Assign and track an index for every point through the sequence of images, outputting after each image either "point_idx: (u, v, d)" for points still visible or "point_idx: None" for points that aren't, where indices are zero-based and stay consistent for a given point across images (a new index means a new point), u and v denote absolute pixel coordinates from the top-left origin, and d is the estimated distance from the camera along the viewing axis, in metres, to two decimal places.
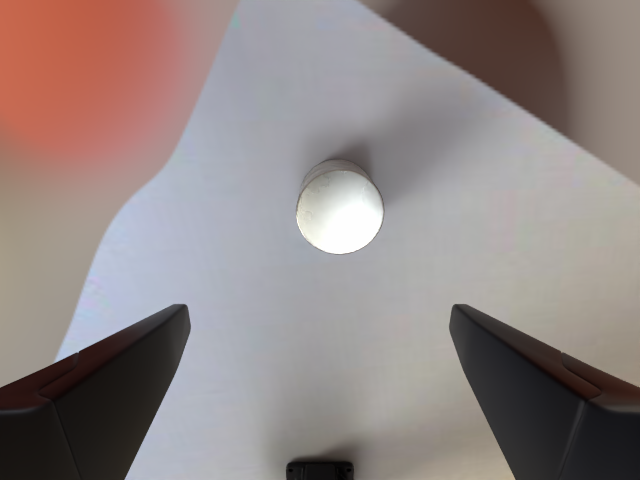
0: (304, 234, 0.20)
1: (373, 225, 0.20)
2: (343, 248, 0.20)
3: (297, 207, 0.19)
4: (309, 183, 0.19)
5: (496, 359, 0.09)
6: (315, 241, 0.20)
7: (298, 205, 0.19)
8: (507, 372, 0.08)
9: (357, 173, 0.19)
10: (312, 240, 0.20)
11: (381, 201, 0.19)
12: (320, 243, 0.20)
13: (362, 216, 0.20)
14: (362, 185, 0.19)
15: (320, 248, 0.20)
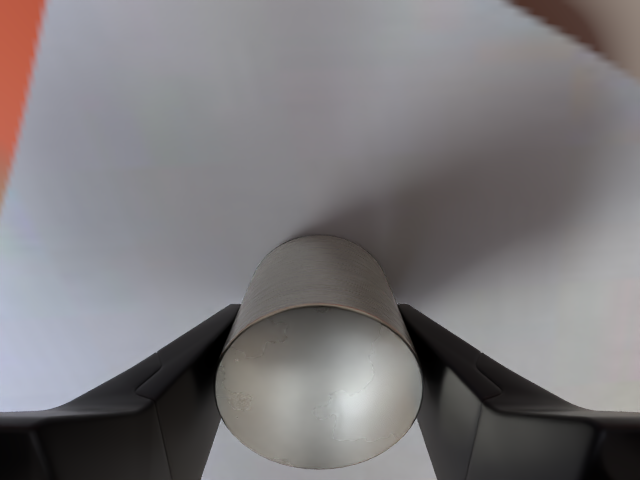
0: (239, 437, 0.09)
1: (398, 415, 0.08)
2: (331, 459, 0.09)
3: (215, 386, 0.08)
4: (237, 336, 0.08)
5: (422, 359, 0.09)
6: (265, 449, 0.09)
7: (217, 382, 0.08)
8: (430, 372, 0.08)
9: (356, 310, 0.07)
10: (259, 447, 0.09)
11: (418, 368, 0.08)
12: (277, 452, 0.09)
13: (371, 400, 0.08)
14: (369, 337, 0.08)
15: (278, 461, 0.09)
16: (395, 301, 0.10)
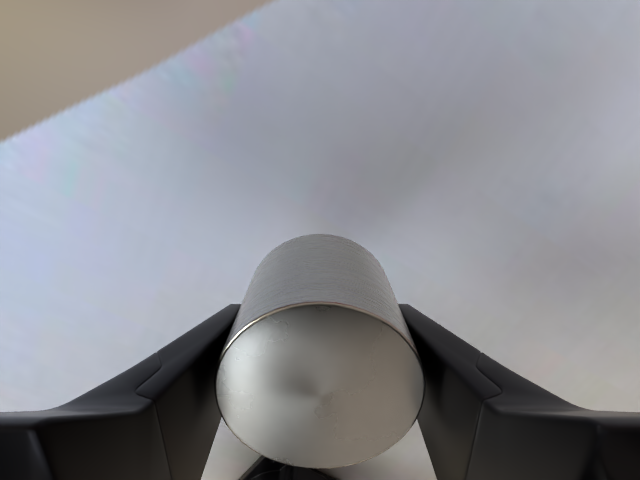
0: (239, 436, 0.09)
1: (399, 414, 0.08)
2: (332, 458, 0.09)
3: (215, 385, 0.08)
4: (238, 335, 0.08)
5: (422, 359, 0.09)
6: (266, 447, 0.09)
7: (217, 381, 0.08)
8: (430, 372, 0.08)
9: (357, 309, 0.07)
10: (260, 447, 0.09)
11: (419, 367, 0.08)
12: (277, 451, 0.09)
13: (372, 399, 0.08)
14: (371, 336, 0.08)
15: (279, 460, 0.09)
16: (396, 300, 0.10)
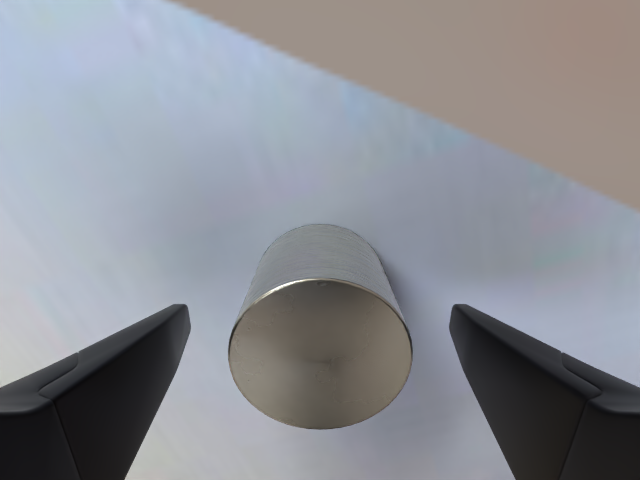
0: (250, 399, 0.10)
1: (390, 379, 0.09)
2: (331, 420, 0.10)
3: (229, 352, 0.09)
4: (250, 307, 0.09)
5: (496, 359, 0.09)
6: (273, 410, 0.10)
7: (231, 349, 0.09)
8: (507, 372, 0.08)
9: (353, 284, 0.09)
10: (267, 409, 0.10)
11: (406, 336, 0.09)
12: (283, 413, 0.10)
13: (366, 365, 0.09)
14: (365, 308, 0.09)
15: (284, 421, 0.10)
16: None
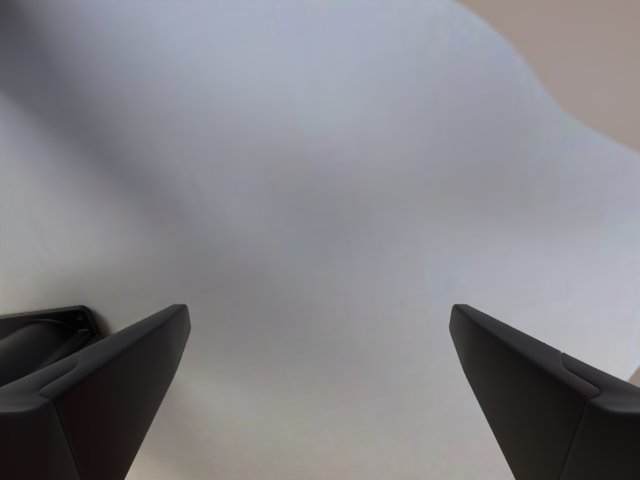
0: None
1: None
2: None
3: None
4: None
5: (496, 359, 0.09)
6: None
7: None
8: (507, 372, 0.08)
9: None
10: None
11: None
12: None
13: None
14: None
15: None
16: None
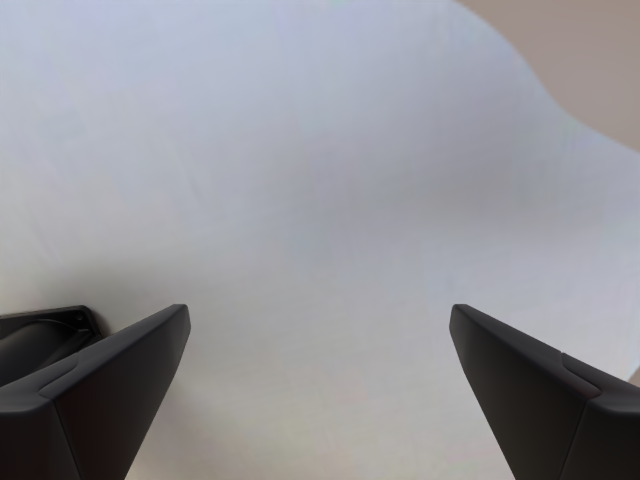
0: None
1: None
2: None
3: None
4: None
5: (496, 359, 0.09)
6: None
7: None
8: (507, 372, 0.08)
9: None
10: None
11: None
12: None
13: None
14: None
15: None
16: None
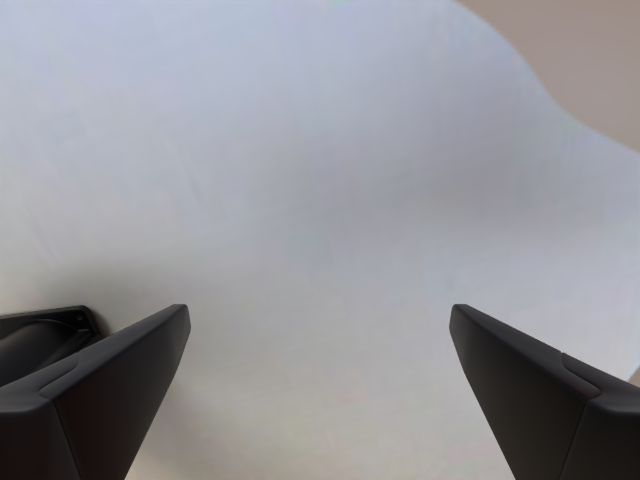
0: None
1: None
2: None
3: None
4: None
5: (496, 359, 0.09)
6: None
7: None
8: (507, 372, 0.08)
9: None
10: None
11: None
12: None
13: None
14: None
15: None
16: None
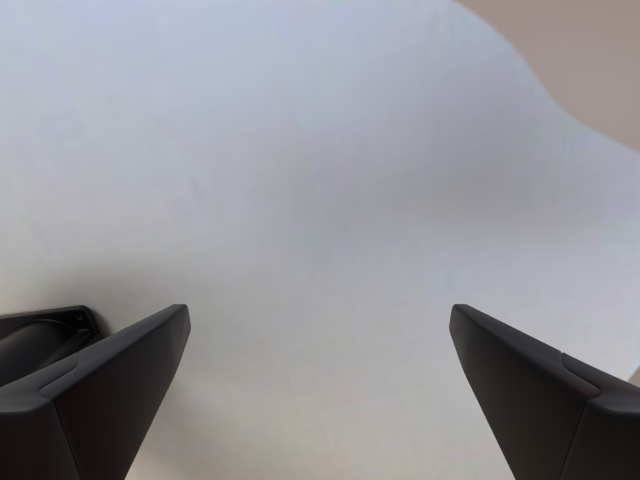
0: None
1: None
2: None
3: None
4: None
5: (496, 359, 0.09)
6: None
7: None
8: (507, 372, 0.08)
9: None
10: None
11: None
12: None
13: None
14: None
15: None
16: None
